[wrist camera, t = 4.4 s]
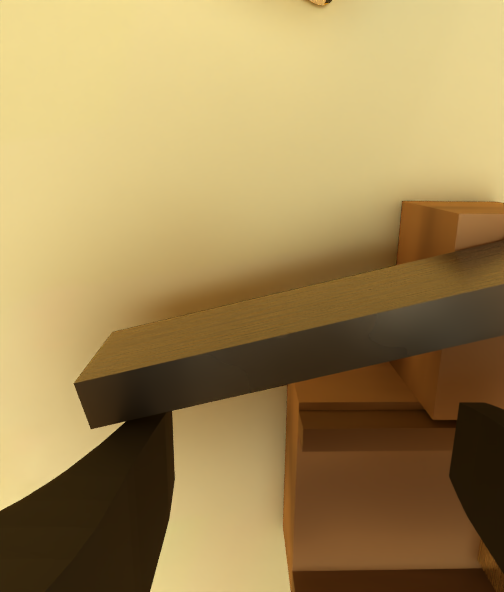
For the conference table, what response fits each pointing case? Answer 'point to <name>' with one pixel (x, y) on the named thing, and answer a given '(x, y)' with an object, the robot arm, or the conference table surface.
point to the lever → (296, 335)
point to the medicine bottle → (321, 2)
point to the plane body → (391, 447)
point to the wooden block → (490, 568)
